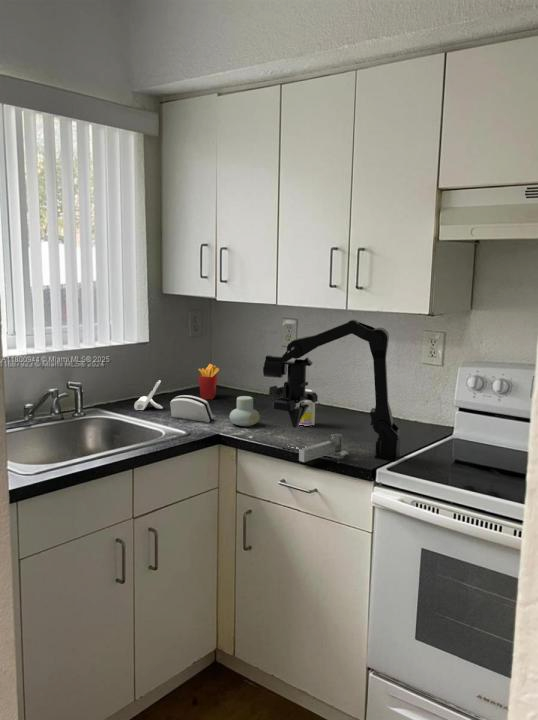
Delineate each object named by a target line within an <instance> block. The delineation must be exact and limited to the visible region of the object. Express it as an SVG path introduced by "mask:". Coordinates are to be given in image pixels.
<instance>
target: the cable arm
mask: <svg viewBox="0 0 538 720" xmlns="http://www.w3.org/2000/svg"><path fill="white" fill-rule="evenodd" d="M329 435H330V436H329V437H330V439H329V440H327V441H326V440H325V441H323V442H319V443H316V444H313V445H309V446H305V448H302V449H299V452H298V461H299V462H302V463H306V462H310V461H313V460H316V459H319V458H322V457H323V456H326V455H329V454H332V453H339V452H341V451H343V450H342V448H343V447H342V446H343V434H341V433H331V434H329Z"/></svg>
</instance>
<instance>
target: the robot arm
mask: <svg viewBox="0 0 538 720" xmlns="http://www.w3.org/2000/svg"><path fill="white" fill-rule="evenodd" d="M349 335H354V336H356V337H358V338H360V339H361V340H364V341H365V342H367V343H368V345H369V346H368V347H369V351H370V352H371V356H372V360H373V374H374V375H373V376H374V377H373V379H374V395H375V407H371V410H370V412H369V415H370V418H371V422H370V426H372V429H373V431H374V432H375V433H376V434H378V437H377V439H376V440H377V441H375V452H374V453H375V455H374V458H375V459H379V458H380V460H387V461H391V462H395V461H397V460H398V459H399V458H401V457H402V454H401V452H400V451H401V438H400V437H399V434H400V427H398V425H397V424H396V423H394V417H393V414H392V413H393V412H392V409H391V405H390V404H389V403H390V402H389V392H388V391H389V389H388V386H389V385H388V369H387V368H388V367H387V356H388V355H387V353H388V347H389V340H390V334H389V331H388V330H386V328H384V327H373V326H371V325H368V324H366V323H363V322H360V321H358V320H357V319H350V320H349V321H347V322H344V323H342V324H339V325H337V326H335V327H332V328H330V329H328V330H325V331H322V332H319V333H317V334H313V335H307V336H303V337H297V338H295V339H293V340H291V341H289V342H288V344H287V346H286V352H285V353H284V354H282V356H275V355H269V354H267V355H266V356H265V359H264V360H265V361H264V362H263V366H262V373H263V376H264V377H265V378H279V379H282V378H284V376H286V375H287V380H286V381H284V383H283V386H281V387H278V386H277V385H273V386H269V390H268V396H270V397H271V398H272V400H274V401H273V402H272V409H274V410H279V411H284V412H288V415H289V418H290V422H291V426H292V428H295V429H296V428H298V427H299V425H298V424H299V422H300V420H301V419H302V417H303V415H304V413H305V411H306V409H307V408H308V407H309V405H305V402H304V401H306V400H311V401H312V402H313V403H314V402H315V403H316V402H318V398H319V397H318V393H316V392H314V391H313V392H307V391H305V389H306V386H308V385H309V381H307V380H306V379H307V367H310V366H312V365H313V364H314V363H313V361H311V360H310V358H309V356H308V357H305V358H304V359H301V357H303V356H305V355H307V354H308V353H310V352H312V351H313V350H315V349H317V348H318V347H320V346H323V345H326V344H329V343H331V342H334V341H336V340H338V339H341V338H344V337H346V336H349ZM292 359H294V361H291V360H292Z"/></svg>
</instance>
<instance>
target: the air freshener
mask: <svg viewBox="0 0 538 720" xmlns="http://www.w3.org/2000/svg"><path fill="white" fill-rule="evenodd" d="M229 420H230V421H231V423H233V424H234V425H236V426H238V425H239V427H252V426H254V425H256V424H257V423H258V422H259V420H260V413H259V412H258V411H257V410H256V409H254V398H253V397H251V396H250V395H249V396H248V395H247V396H246V395H242V396H241V395H240V396H237V398H236V408H235V409H233V410H231V411H230V413H229ZM251 425H252V426H251Z"/></svg>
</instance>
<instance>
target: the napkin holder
mask: <svg viewBox="0 0 538 720" xmlns="http://www.w3.org/2000/svg"><path fill="white" fill-rule="evenodd" d="M169 405H170V412H171V413H170V415H171V418H177V419H178V418H179V419H183V420H190V421H196V420H197V421H198V422H202V421H204V422H203V423H209V422H211V420H212V421H215V420H216V419H215V415H214V414H213V413H212V410H211V408H210V405H209V402H208V401H207V400H206V399H201V397H198V396H194V395H189V394H188V395H185V394H183V395H178V396H175V397H173V399H172V400H171V401H170V402H169ZM197 421H196V422H197Z"/></svg>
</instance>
